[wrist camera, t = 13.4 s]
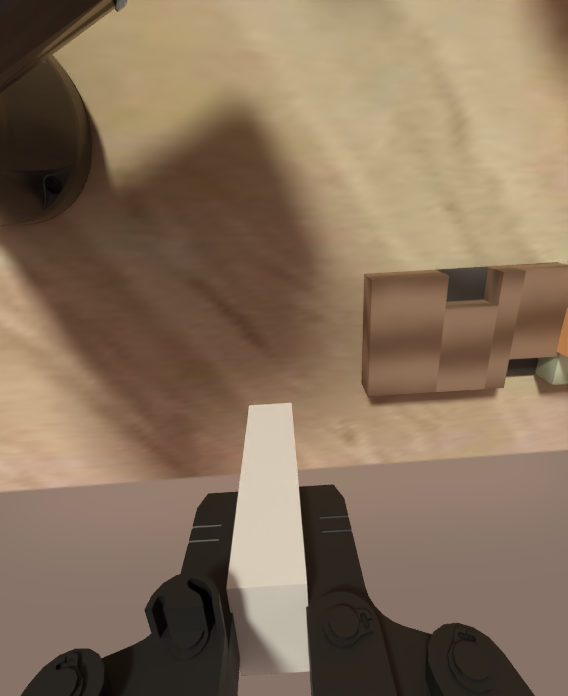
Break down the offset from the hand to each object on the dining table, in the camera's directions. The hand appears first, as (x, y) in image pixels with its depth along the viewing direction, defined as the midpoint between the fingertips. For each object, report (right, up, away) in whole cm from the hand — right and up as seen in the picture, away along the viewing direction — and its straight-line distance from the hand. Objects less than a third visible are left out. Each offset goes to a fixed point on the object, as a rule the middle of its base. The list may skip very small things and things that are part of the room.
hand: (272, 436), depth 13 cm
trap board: (+22, +6, +25) cm, 33 cm away
